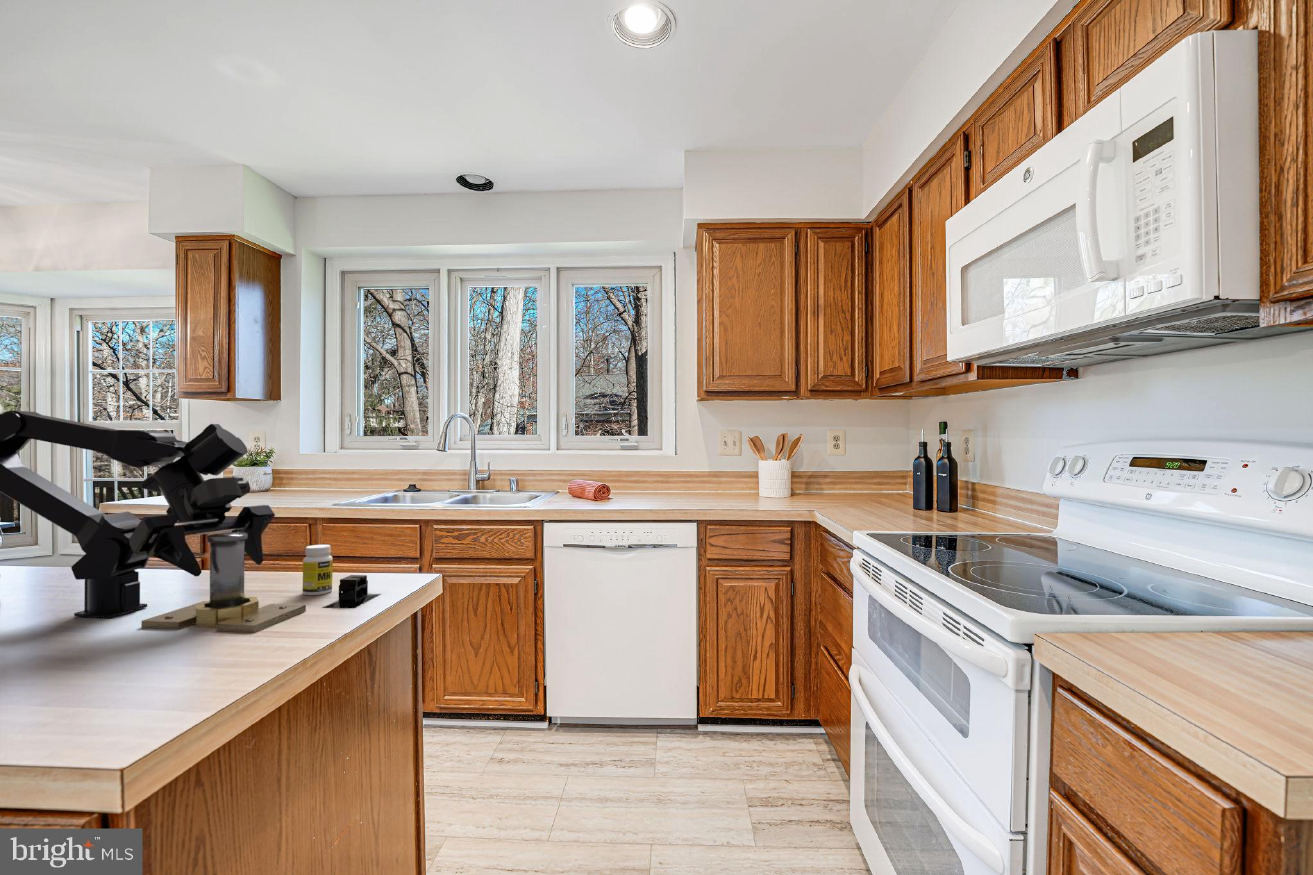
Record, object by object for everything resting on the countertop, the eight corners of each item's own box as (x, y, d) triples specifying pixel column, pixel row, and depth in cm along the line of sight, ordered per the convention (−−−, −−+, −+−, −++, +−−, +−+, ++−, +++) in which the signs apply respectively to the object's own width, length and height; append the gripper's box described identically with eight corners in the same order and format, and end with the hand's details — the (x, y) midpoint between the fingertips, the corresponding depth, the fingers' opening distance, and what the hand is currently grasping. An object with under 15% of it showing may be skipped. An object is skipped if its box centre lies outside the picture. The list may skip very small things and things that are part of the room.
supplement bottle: (319, 596, 109) (319, 549, 109) (296, 595, 110) (296, 547, 110) (338, 590, 114) (338, 544, 114) (316, 588, 115) (316, 543, 115)
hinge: (141, 627, 91) (141, 610, 91) (204, 607, 102) (204, 592, 102) (254, 632, 89) (254, 614, 89) (305, 611, 100) (305, 595, 100)
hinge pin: (197, 623, 93) (197, 537, 93) (225, 613, 98) (225, 532, 98) (229, 624, 92) (229, 537, 92) (255, 614, 98) (255, 532, 98)
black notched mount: (354, 614, 100) (354, 586, 100) (310, 613, 100) (310, 585, 100) (390, 594, 113) (390, 569, 113) (351, 594, 113) (351, 569, 113)
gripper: (141, 460, 88) (188, 543, 84) (268, 457, 106) (312, 526, 101) (109, 512, 92) (153, 595, 87) (238, 501, 109) (279, 569, 104)
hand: (231, 568), depth 95 cm, fingers open, 9 cm apart
